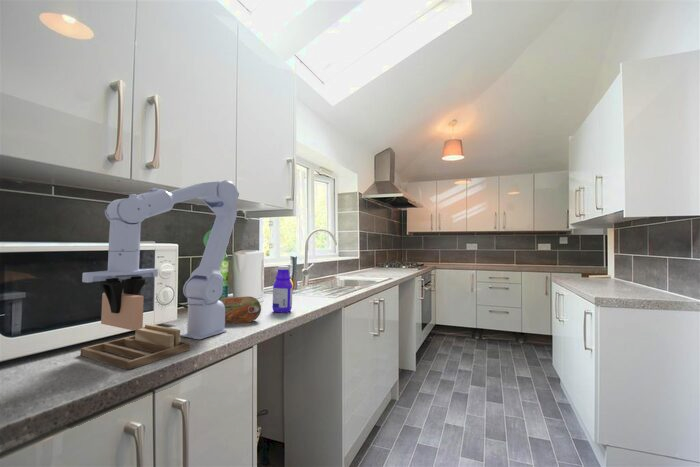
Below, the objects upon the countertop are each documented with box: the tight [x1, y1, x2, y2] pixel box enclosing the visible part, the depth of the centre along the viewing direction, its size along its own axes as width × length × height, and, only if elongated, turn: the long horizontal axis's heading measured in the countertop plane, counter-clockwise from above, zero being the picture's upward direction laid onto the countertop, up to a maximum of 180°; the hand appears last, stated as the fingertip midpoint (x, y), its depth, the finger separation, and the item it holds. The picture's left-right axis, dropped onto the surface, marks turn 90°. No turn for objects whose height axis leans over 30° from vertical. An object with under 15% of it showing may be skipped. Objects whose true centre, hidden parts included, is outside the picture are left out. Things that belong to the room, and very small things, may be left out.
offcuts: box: [134, 323, 181, 348], centre depth 75 cm, size 3×14×4 cm, turn 65°
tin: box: [218, 296, 262, 325], centre depth 100 cm, size 15×3×8 cm, turn 106°
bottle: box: [272, 265, 293, 314], centre depth 117 cm, size 7×6×17 cm
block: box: [100, 292, 145, 331], centre depth 69 cm, size 2×12×7 cm, turn 65°
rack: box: [79, 334, 191, 371], centre depth 71 cm, size 14×18×2 cm
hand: (121, 311), depth 69 cm, fingers closed on block, 2 cm apart
